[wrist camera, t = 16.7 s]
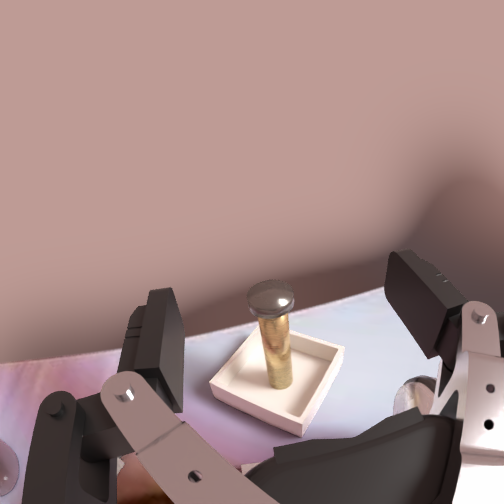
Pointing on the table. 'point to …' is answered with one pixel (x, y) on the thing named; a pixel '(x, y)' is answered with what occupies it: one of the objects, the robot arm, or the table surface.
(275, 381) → the lock pin
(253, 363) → the parts tray
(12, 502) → the table surface
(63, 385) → the table surface
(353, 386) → the table surface
